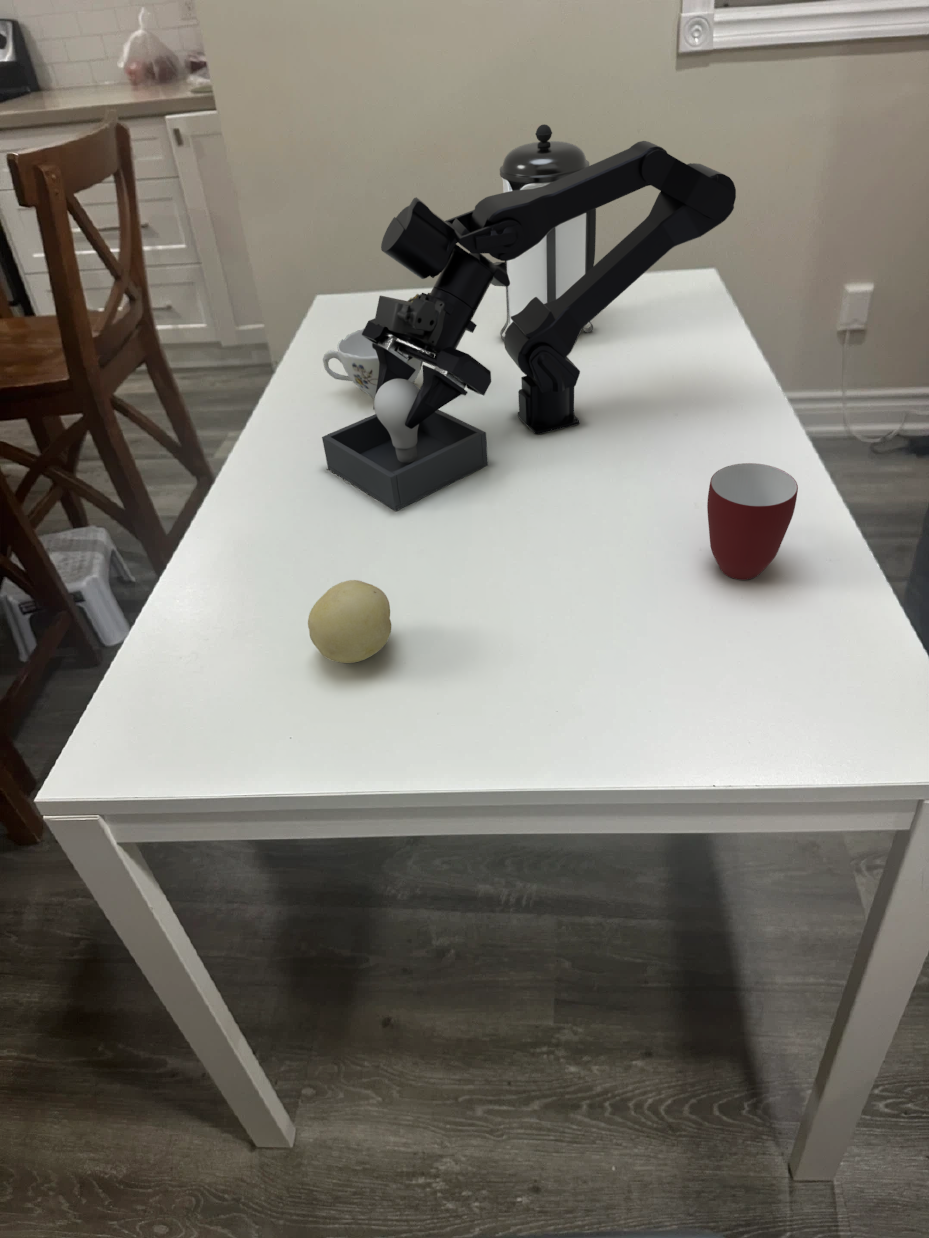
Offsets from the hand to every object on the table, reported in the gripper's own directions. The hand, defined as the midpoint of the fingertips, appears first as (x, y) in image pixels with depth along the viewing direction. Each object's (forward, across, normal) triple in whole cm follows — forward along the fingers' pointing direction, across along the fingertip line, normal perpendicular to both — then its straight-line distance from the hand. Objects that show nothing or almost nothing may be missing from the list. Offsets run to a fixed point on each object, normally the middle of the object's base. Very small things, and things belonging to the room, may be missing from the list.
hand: (391, 419), depth 105 cm
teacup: (-3, -21, +14) cm, 25 cm away
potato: (+22, +25, -12) cm, 35 cm away
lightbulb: (+4, 0, +6) cm, 7 cm away
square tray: (+4, 0, +6) cm, 7 cm away
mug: (-4, +41, +14) cm, 44 cm away
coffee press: (-26, -18, +36) cm, 48 cm away
